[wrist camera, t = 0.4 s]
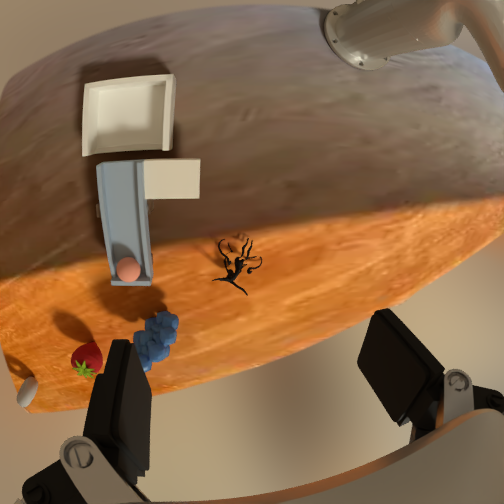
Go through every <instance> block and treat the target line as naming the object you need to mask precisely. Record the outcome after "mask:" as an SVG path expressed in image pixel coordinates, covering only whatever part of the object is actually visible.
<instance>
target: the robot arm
mask: <svg viewBox="0 0 504 504" xmlns="http://www.w3.org/2000/svg"><path fill="white" fill-rule="evenodd" d="M463 25H465V26H466V27H467V29H468V30H469V32H470V33H471V35H472V36H473V38H474V39H475V41H476V42H477V44H478V46H479V48H480V50H481V51H482V53H483V55H484V57H485V59H486V61H487V63H488V65H489V67H490V69H491V71H492V73H493V75H494V77H495V79H496V81H497V83H498V85H499V86H500V88H501V90H502V91H503V92H504V0H356V2H354V3H353V4H345V5H340V6H338V7H335V8H334V9H332V10H331V11H330V12H329V13H328V15H327V16H326V18H325V22H324V32H325V36H326V39H327V41H328V43H329V45H330V47H331V48H332V50H333V51H334V52H335V54H336V55H337V56H338V57H339V58H340V59H342V60H343V61H344V62H346V63H347V64H349V65H351V66H352V67H355V68H357V69H360V70H376V69H379V68H382V67H383V66H384V65H386V64H387V63H388V61H389V60H390V57H391V56H394V55H398V54H403V53H408V52H413V51H418V50H423V49H429V48H435V47H442V46H446V45H449V44H451V43H453V42H454V41H455V40H456V39H457V38H458V36H459V35H460V33H461V31H462V28H463ZM357 364H358V367H359V369H360V370H361V372H362V373H363V375H364V376H365V378H366V379H367V381H368V382H369V384H370V385H371V387H372V389H373V390H374V392H375V393H376V395H377V397H378V398H379V400H380V401H381V403H382V404H383V406H384V408H385V409H386V411H387V412H388V414H389V416H390V417H391V419H392V420H393V421H394V422H397V424H398V425H399V427H400V426H402V425H404V424H406V423H408V422H409V421H411V422H412V430H411V436H410V441H409V444H408V445H406V446H404V447H403V448H400V449H398V450H396V451H394V452H392V453H390V454H388V455H386V456H384V457H381V458H379V459H377V460H375V461H372V462H370V463H367V464H365V465H363V466H360V467H358V468H355V469H352V470H350V471H347V472H344V473H341V474H339V475H336V476H332V477H329V478H326V479H323V480H320V481H316V482H313V483H309V484H305V485H302V486H298V487H294V488H289V489H285V490H281V491H276V492H271V493H265V494H260V495H253V496H247V497H239V498H231V499H221V500H209V501H189V502H151V501H150V500H149V499H148V498H147V497H146V496H145V495H144V494H143V492H141V490H140V489H139V488H138V487H137V486H136V484H137V476H143V477H145V470H149V456H150V455H149V454H150V453H149V452H150V418H151V401H152V400H151V399H152V393H151V388H150V385H149V383H148V380H147V378H146V375H145V372H144V370H143V367H142V364H141V361H140V359H139V356H138V353H137V350H136V347H135V344H134V343H130V342H129V340H128V339H114V340H113V341H112V344H111V347H110V351H109V354H108V358H107V362H106V366H105V369H104V373H103V374H98V375H97V376H96V379H95V382H94V386H93V390H92V394H91V398H90V403H89V407H88V411H87V416H86V421H85V426H84V431H83V436H73V437H71V438H69V439H67V440H66V441H64V443H63V444H62V446H61V448H60V459H59V460H58V461H57V462H55V463H53V464H51V465H50V466H48V467H47V468H45V469H43V470H42V471H40V472H38V473H37V474H35V475H34V476H32V477H30V478H29V479H27V480H26V481H25V482H24V484H23V487H22V495H23V498H22V500H20V499H18V500H17V501H16V502H15V503H14V504H504V396H503V395H502V394H501V393H500V392H498V391H496V390H492V389H488V388H483V387H479V386H474V385H472V381H471V379H470V377H469V376H468V375H467V374H466V373H465V372H464V371H462V370H458V369H452V370H449V371H448V372H447V373H446V374H445V375H444V373H443V372H444V370H445V368H444V367H443V366H442V365H441V364H440V363H439V361H438V360H437V359H436V358H435V357H434V356H433V355H432V354H431V352H430V351H429V350H428V349H427V348H426V347H425V346H424V345H423V344H422V343H421V341H419V339H418V338H417V337H416V336H415V335H414V334H413V333H412V332H411V331H410V330H409V329H408V328H407V326H406V325H405V324H404V323H403V322H402V321H401V320H400V319H399V318H398V317H397V316H396V315H395V314H394V313H393V312H392V311H391V310H390V309H388V308H386V309H382V310H377V311H375V313H374V315H372V317H371V320H370V323H369V326H368V330H367V333H366V336H365V339H364V342H363V345H362V348H361V351H360V354H359V357H358V360H357Z"/></svg>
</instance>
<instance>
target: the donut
mask: <svg viewBox="0 0 504 504" xmlns="http://www.w3.org/2000/svg"><path fill="white" fill-rule="evenodd" d="M37 388H38V382H37V380H36V379H35V378H34V377H32V376H30V377H28V378H27V379H26V380H25V381H24V383H23V384H22V386H21V388H20V390H19V392H18V395H17V402H18V404H19V405H20V406H21V407H27V406H28V405H29V404H30V403H31V401H32V399H33V398H34V396H35V393H36V391H37Z"/></svg>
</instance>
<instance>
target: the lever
mask: <svg viewBox="0 0 504 504" xmlns="http://www.w3.org/2000/svg"><path fill="white" fill-rule="evenodd" d="M96 170H97V183H98V194H99V203H100V211H101V219H102V226H103V232H104V238H105V244H106V250H107V255H108V261H109V266H110V270H111V275H112V279H111V284H112V285H114V286H151V283H152V278H153V266H152V257H151V248H150V238H149V226H148V212H147V211H148V209H149V206H148V204H147V199H183V198H199V184H200V158H173V159H143V160H125V161H111V162H102V163H100V164H98V165H97V166H96ZM125 257H132V258H134V259H136V260H137V261H138V263H139V265H140V269H141V271H140V275H139V277H138V278H137V279H136V280H135V281H133V282H124V281H122V280H121V279H120V278H119V277H118V275H117V271H116V268H117V264H118V262H119V261H120V260H121V259H123V258H125Z"/></svg>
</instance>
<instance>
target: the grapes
mask: <svg viewBox="0 0 504 504" xmlns="http://www.w3.org/2000/svg"><path fill="white" fill-rule="evenodd" d="M178 324H179V319H178V317H177V315H175V314H171V313H170V312H168V311H162V312H159V313H157V317H156V318H155V317H153V318H149V319H146V321H145V331H144V330H140V331H137V332H134V336H133V342H134V344H135V347H136V350H137V353H138V356H139V359H140V361H141V364H142V367H143V370H144V372H147V371H149V370H151V366H152V362H159V361H162V360H163V359H165V358H166V357H168V356H169V352H170V346H169V345H170V344H173V343H175V341H176V337H177V332H176V329H177V328H178Z"/></svg>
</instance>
